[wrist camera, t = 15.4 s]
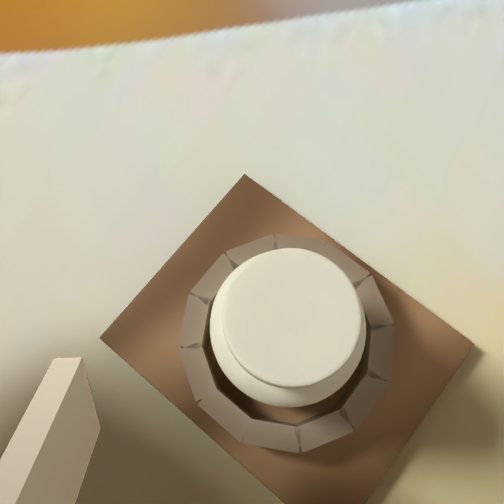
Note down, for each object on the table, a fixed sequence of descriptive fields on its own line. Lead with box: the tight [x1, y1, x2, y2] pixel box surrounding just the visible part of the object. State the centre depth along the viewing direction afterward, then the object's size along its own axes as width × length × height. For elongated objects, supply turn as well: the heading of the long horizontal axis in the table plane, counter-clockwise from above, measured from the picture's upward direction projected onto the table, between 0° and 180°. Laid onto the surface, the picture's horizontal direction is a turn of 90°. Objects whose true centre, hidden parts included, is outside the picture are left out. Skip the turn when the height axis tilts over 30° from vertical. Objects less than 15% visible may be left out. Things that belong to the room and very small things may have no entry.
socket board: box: [100, 174, 474, 504], centre depth 22 cm, size 14×11×3 cm
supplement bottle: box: [210, 248, 366, 407], centre depth 18 cm, size 5×5×10 cm
